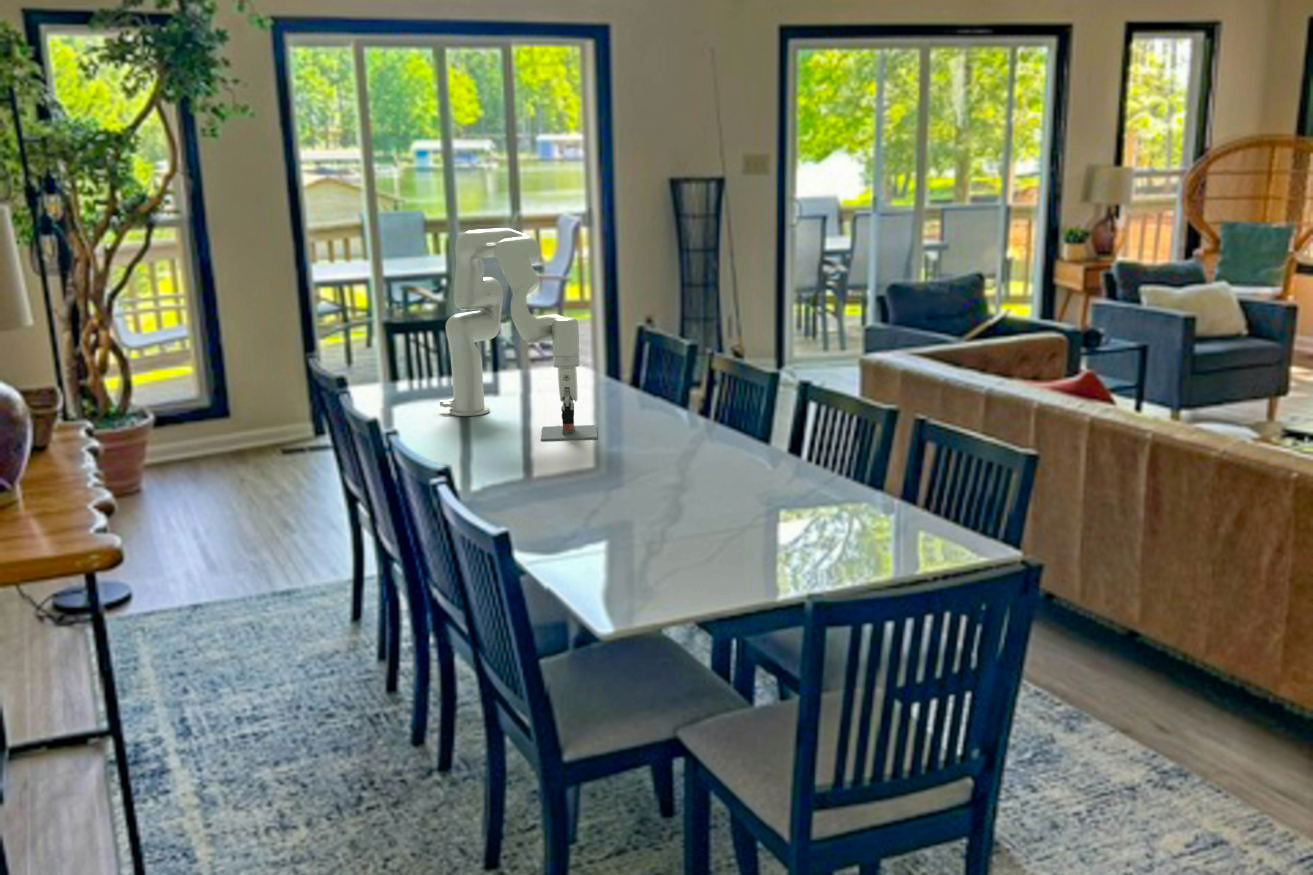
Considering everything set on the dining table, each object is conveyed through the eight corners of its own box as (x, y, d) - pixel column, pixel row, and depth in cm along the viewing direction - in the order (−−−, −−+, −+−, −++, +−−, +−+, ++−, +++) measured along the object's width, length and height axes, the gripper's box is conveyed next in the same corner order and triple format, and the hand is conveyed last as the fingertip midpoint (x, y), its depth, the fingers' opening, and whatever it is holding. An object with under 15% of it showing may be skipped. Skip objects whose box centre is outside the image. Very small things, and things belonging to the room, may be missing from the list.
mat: (540, 441, 321) (540, 439, 321) (542, 428, 335) (542, 426, 335) (597, 439, 322) (597, 437, 322) (596, 426, 336) (596, 425, 336)
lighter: (565, 428, 333) (564, 395, 330) (576, 428, 332) (575, 395, 330) (560, 434, 325) (558, 400, 323) (572, 434, 325) (570, 400, 322)
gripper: (579, 366, 315) (581, 426, 320) (579, 355, 332) (581, 413, 336) (552, 366, 315) (554, 427, 319) (554, 356, 332) (556, 413, 336)
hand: (568, 419), depth 328 cm, fingers open, 8 cm apart
